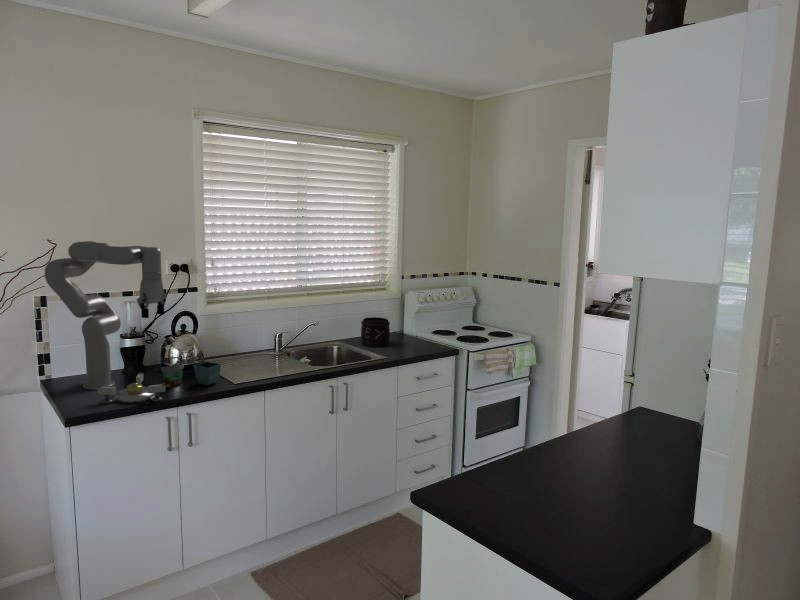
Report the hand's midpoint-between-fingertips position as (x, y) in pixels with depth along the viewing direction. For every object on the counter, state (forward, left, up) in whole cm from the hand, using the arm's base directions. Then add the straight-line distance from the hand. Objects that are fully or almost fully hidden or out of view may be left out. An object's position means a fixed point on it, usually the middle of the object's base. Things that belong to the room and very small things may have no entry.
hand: (153, 316), depth 246 cm
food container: (+3, +10, -34) cm, 35 cm away
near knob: (-7, -20, -32) cm, 38 cm away
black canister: (+59, +126, -34) cm, 143 cm away
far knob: (+9, -10, -32) cm, 35 cm away
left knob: (-8, 0, -32) cm, 33 cm away
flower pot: (+14, +18, -34) cm, 41 cm away
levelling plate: (+1, -10, -33) cm, 35 cm away
